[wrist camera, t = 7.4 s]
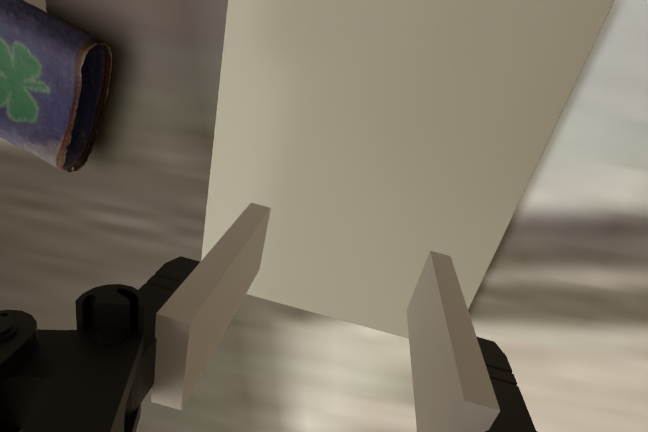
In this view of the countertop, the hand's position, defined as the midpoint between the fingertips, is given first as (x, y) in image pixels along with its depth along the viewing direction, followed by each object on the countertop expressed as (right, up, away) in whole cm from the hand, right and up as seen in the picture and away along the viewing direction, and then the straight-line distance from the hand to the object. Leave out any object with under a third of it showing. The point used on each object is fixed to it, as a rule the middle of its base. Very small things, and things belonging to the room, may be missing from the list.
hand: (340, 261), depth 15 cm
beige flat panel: (+2, +5, +12) cm, 13 cm away
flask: (-16, +10, +13) cm, 23 cm away
